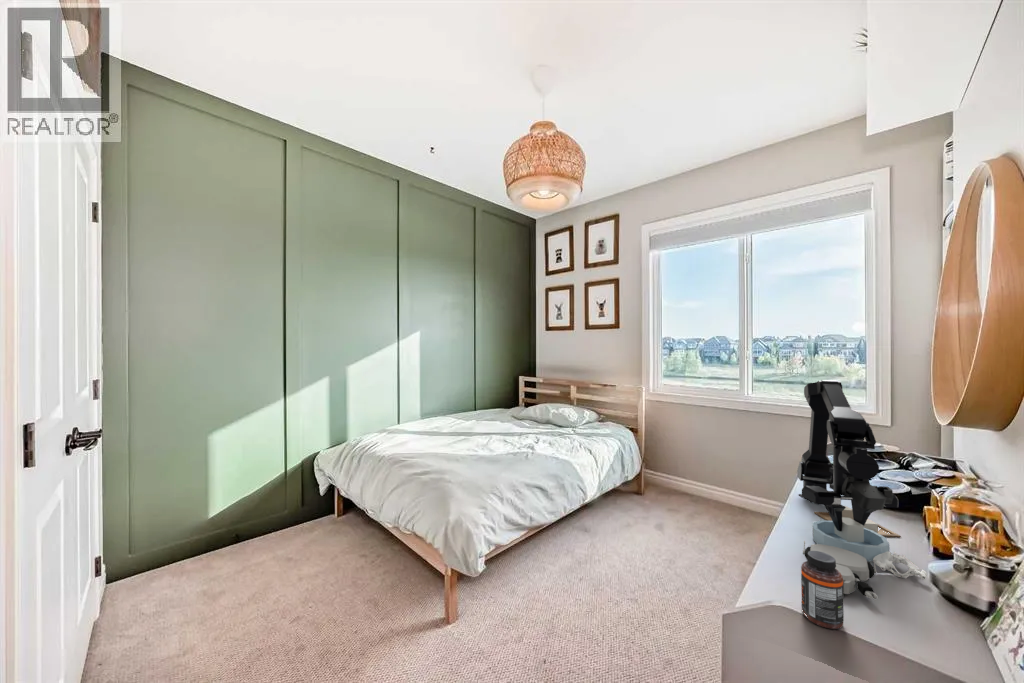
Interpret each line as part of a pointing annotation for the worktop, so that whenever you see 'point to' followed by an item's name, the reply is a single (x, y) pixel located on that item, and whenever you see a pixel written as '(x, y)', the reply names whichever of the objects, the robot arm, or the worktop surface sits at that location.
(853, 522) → the beige cube
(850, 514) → the tan cube
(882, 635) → the worktop surface
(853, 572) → the robot toy
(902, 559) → the white animal skull
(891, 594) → the worktop surface
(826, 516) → the tray
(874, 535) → the bowl
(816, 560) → the supplement bottle
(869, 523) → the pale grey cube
